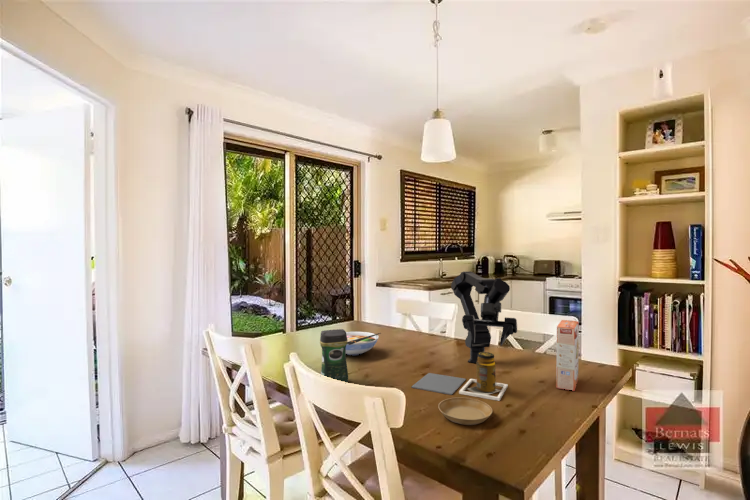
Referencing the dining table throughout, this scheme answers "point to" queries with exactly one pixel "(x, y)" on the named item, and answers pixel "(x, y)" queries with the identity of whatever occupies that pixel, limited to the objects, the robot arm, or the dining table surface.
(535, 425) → the dining table surface
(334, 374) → the coffee jar
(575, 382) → the cracker box
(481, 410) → the plant saucer
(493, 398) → the ceramic frame
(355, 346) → the ramen bowl
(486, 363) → the condiment
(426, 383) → the rubber mat
